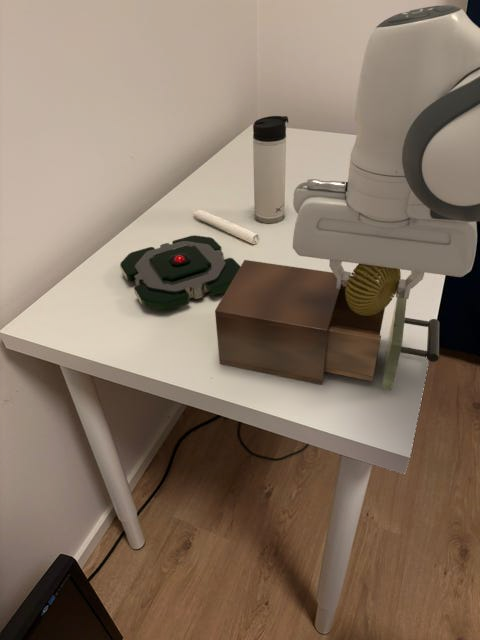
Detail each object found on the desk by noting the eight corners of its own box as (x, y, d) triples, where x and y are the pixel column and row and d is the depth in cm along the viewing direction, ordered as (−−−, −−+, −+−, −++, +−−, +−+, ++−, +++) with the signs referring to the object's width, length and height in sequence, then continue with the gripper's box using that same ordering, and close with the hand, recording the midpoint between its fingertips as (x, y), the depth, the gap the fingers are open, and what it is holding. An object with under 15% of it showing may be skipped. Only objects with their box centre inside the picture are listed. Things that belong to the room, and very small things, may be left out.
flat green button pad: (251, 288, 82) (250, 266, 79) (150, 322, 76) (145, 299, 73) (207, 242, 95) (205, 221, 92) (117, 268, 89) (112, 246, 86)
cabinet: (337, 326, 74) (343, 273, 68) (322, 384, 65) (327, 330, 58) (246, 310, 78) (244, 259, 71) (219, 363, 68) (214, 310, 62)
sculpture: (377, 291, 66) (385, 239, 60) (401, 305, 63) (412, 252, 58) (335, 316, 62) (341, 262, 57) (360, 331, 59) (368, 277, 54)
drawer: (431, 340, 69) (444, 296, 64) (429, 398, 61) (444, 353, 56) (306, 318, 74) (309, 276, 69) (288, 370, 66) (290, 326, 61)
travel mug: (286, 223, 99) (289, 122, 87) (254, 224, 100) (252, 124, 87) (285, 209, 104) (287, 112, 91) (254, 210, 104) (252, 113, 92)
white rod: (190, 217, 103) (188, 207, 101) (197, 214, 104) (196, 204, 102) (252, 246, 93) (252, 235, 91) (259, 242, 94) (259, 231, 92)
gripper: (287, 189, 52) (285, 293, 61) (494, 209, 47) (458, 320, 55) (300, 166, 57) (296, 266, 65) (489, 182, 51) (457, 288, 60)
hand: (372, 291), depth 60 cm, fingers closed on sculpture, 6 cm apart
